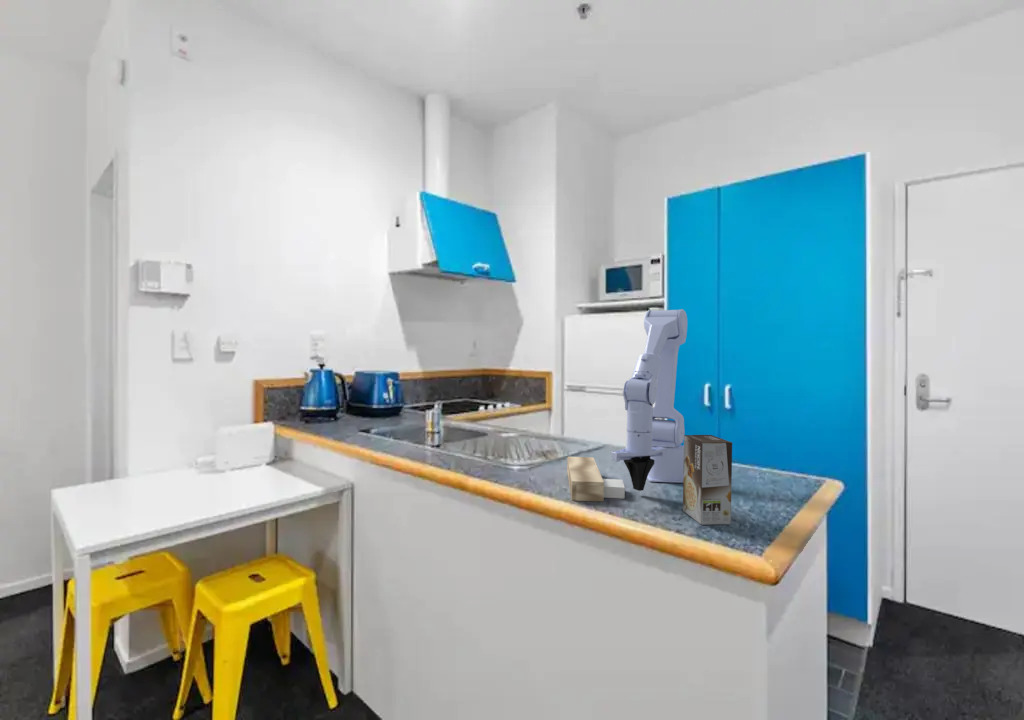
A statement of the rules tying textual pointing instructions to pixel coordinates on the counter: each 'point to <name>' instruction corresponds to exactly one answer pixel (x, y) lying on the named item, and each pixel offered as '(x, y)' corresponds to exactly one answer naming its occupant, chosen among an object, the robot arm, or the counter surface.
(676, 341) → the robot arm
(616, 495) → the white flat block
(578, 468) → the wooden block
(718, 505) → the coffee box
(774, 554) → the counter surface
